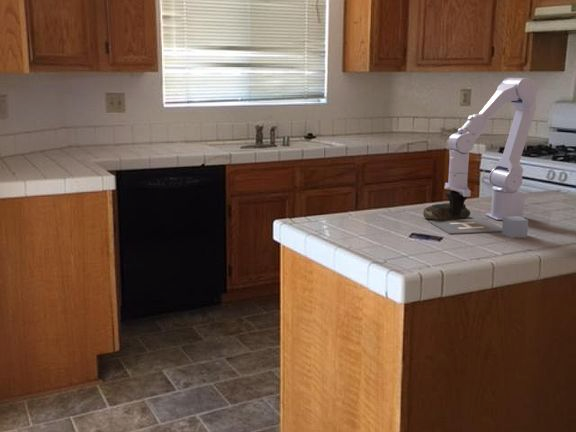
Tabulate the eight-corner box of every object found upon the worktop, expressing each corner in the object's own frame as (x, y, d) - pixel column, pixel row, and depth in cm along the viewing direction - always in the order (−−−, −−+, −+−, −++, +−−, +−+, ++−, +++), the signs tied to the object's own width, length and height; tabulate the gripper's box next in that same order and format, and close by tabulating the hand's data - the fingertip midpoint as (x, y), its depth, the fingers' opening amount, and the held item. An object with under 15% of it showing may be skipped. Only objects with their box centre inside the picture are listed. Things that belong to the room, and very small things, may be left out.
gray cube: (517, 233, 187) (519, 216, 186) (526, 237, 182) (528, 220, 181) (501, 233, 186) (503, 216, 185) (510, 238, 181) (512, 220, 180)
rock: (420, 218, 204) (420, 204, 204) (455, 213, 213) (455, 200, 212) (437, 221, 198) (438, 208, 197) (473, 216, 206) (473, 203, 205)
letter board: (482, 219, 203) (482, 218, 203) (507, 231, 188) (507, 230, 187) (428, 221, 200) (428, 220, 200) (449, 234, 185) (449, 232, 184)
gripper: (436, 169, 204) (434, 210, 207) (456, 176, 190) (453, 220, 193) (457, 168, 206) (455, 210, 209) (478, 175, 192) (475, 219, 195)
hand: (455, 215), depth 201 cm, fingers closed
